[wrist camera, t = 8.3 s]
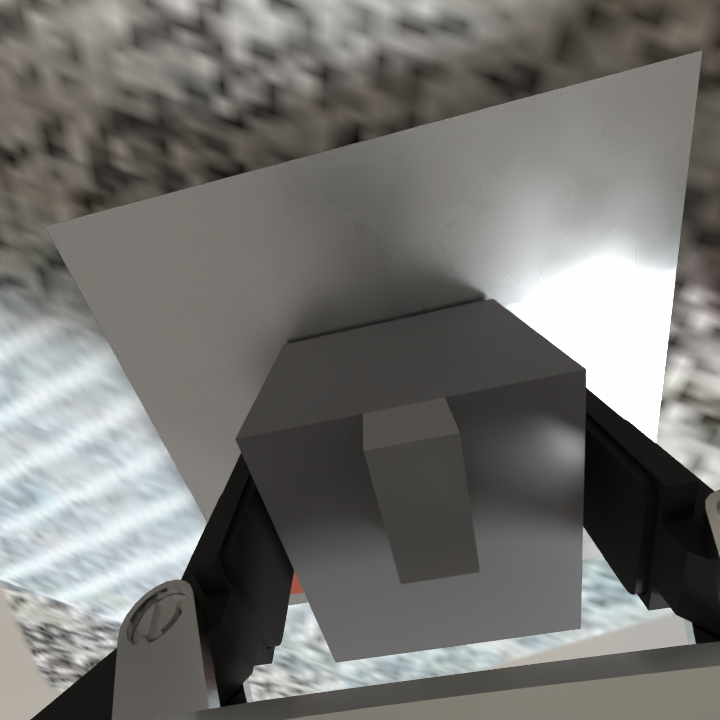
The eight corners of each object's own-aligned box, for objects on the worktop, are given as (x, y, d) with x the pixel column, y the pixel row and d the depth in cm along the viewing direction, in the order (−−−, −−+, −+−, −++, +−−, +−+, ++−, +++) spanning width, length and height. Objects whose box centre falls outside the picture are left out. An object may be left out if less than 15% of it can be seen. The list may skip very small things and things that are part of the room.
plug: (295, 320, 13) (214, 479, 6) (470, 281, 12) (628, 400, 5) (344, 476, 15) (333, 713, 8) (488, 450, 15) (606, 679, 8)
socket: (115, 220, 12) (25, 228, 9) (614, 88, 11) (727, 39, 7) (271, 549, 18) (252, 625, 15) (597, 493, 17) (654, 564, 14)
